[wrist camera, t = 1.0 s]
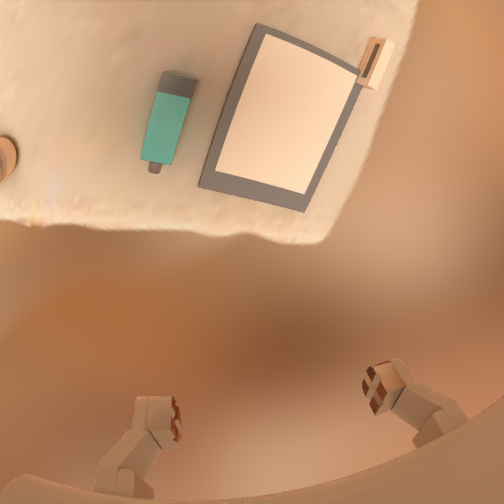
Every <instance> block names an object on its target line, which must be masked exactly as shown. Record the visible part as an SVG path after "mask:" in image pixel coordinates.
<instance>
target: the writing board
mask: <svg viewBox="0 0 504 504" xmlns="http://www.w3.org/2000/svg"><path fill="white" fill-rule="evenodd" d="M359 73H360V70H358V69H356V68H355V67H353V66H351V65H349V64H348V63H346V62H344V61H342V60H340V59H338V58H336V57H335V56H333V55H331V54H329V53H327V52H325V51H323V50H321V49H319V48H316V47H314V46H312V45H310V44H308V43H306V42H303V41H301V40H299V39H297V38H294V37H292V36H290V35H287V34H285V33H282V32H280V31H277V30H275V29H272V28H269V27H267V26H264V25H261V24H258V23H257V24H256V25H255V28H254V30H253V32H252V35H251V37H250V40H249V42H248V44H247V47H246V49H245V52H244V54H243V57H242V59H241V62H240V64H239V67H238V70H237V72H236V75H235V77H234V80H233V83H232V85H231V88H230V91H229V94H228V96H227V99H226V102H225V105H224V107H223V110H222V113H221V116H220V119H219V122H218V125H217V128H216V131H215V134H214V137H213V140H212V143H211V146H210V149H209V152H208V155H207V158H206V162H205V165H204V168H203V171H202V175H201V178H200V181H199V185H198V187H199V188H204V189H208V190H213V191H217V192H222V193H226V194H231V195H235V196H239V197H243V198H248V199H252V200H256V201H260V202H264V203H268V204H272V205H276V206H280V207H284V208H288V209H292V210H296V211H300V212H303V213H305V210H306V208H307V206H308V204H309V202H310V200H311V198H312V196H313V194H314V192H315V190H316V188H317V185H318V183H319V181H320V179H321V177H322V175H323V173H324V171H325V168H326V166H327V164H328V162H329V160H330V158H331V156H332V153H333V151H334V149H335V147H336V145H337V142H338V140H339V138H340V136H341V134H342V131H343V129H344V127H345V125H346V123H347V120H348V118H349V116H350V114H351V111H352V109H353V107H354V105H355V102H356V100H357V98H358V96H359V93H360V91H361V89H362V86H361V85H360V84H358V83H356V80H357V78H358V76H359Z"/></svg>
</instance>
